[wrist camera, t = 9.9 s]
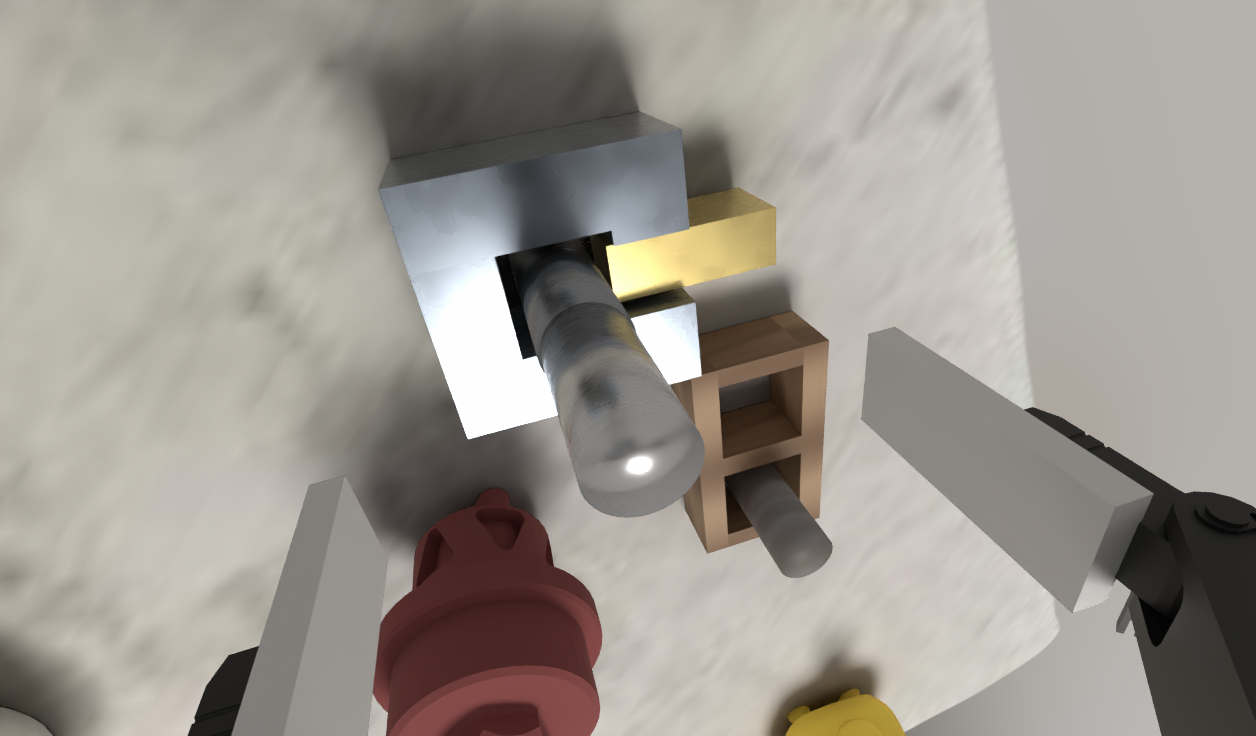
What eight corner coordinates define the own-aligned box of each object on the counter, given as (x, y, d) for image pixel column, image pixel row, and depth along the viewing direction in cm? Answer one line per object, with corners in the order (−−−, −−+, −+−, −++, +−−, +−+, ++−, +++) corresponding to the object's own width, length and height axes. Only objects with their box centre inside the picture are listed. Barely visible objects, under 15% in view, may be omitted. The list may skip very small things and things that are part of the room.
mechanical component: (370, 593, 33) (404, 449, 29) (543, 598, 36) (593, 471, 33) (337, 854, 22) (383, 684, 18) (582, 821, 26) (663, 676, 22)
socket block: (389, 159, 22) (377, 189, 18) (639, 111, 24) (681, 129, 20) (464, 377, 28) (467, 439, 23) (664, 326, 29) (701, 375, 25)
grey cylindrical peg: (500, 226, 25) (560, 430, 12) (574, 210, 25) (704, 390, 13) (518, 295, 26) (586, 536, 14) (586, 279, 27) (712, 497, 14)
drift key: (586, 220, 25) (606, 246, 22) (738, 187, 26) (775, 207, 23) (596, 272, 26) (615, 303, 23) (740, 239, 27) (775, 264, 24)
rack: (666, 343, 30) (731, 434, 23) (792, 310, 31) (889, 388, 24) (685, 511, 36) (741, 620, 29) (789, 478, 37) (865, 577, 30)
